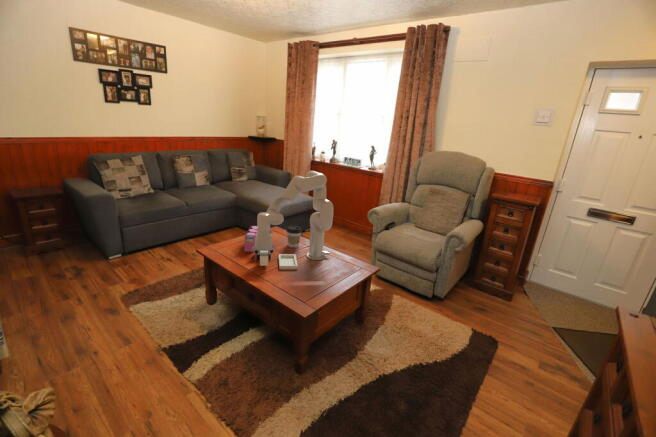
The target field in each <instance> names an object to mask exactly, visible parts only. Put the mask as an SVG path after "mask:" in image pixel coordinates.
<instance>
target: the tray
mask: <svg viewBox="0 0 656 437" xmlns="http://www.w3.org/2000/svg"><path fill="white" fill-rule="evenodd" d="M278 267H279V268H278V269H279V271H280V270H281V271H282V270H286V271H287V270H294V271H296V270H298V268H299V267H298V260H297V255H296V254H295V253H294V254H293V253H289V254H286V253H285V254H283V253H282V254H281V253H279V254H278Z"/></svg>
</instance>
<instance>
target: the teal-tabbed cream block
mask: <svg viewBox="0 0 656 437" xmlns="http://www.w3.org/2000/svg"><path fill="white" fill-rule="evenodd" d="M259 266H261V267H262V266H263V267H264V266H265V267H266V266H269V261H268V251H260V261H259Z"/></svg>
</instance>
